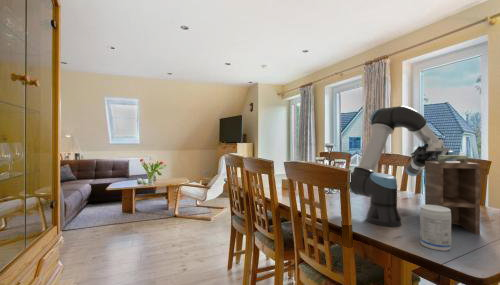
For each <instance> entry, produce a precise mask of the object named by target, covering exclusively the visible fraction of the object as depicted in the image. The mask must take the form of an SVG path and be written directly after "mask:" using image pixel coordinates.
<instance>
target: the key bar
mask: <svg viewBox="0 0 500 285" xmlns="http://www.w3.org/2000/svg"><path fill="white" fill-rule="evenodd" d="M426 144H427V143H426ZM427 151H451V147H445V148H442V143H433V144H432V146H431V147H430V148H429V149H428V150H427Z"/></svg>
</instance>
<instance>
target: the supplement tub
mask: <svg viewBox="0 0 500 285" xmlns="http://www.w3.org/2000/svg"><path fill="white" fill-rule="evenodd" d="M419 208H420V209H419V243H421V245H422V246H423V247H425V248H428V249H430V250H435V251H439V252H441V251H442V252H443V251H444V252H446V251H450V250H451V249H452V224H451V210H450V209H449V208H446V207H443V206H438V205H425V204H421V205H420V207H419Z"/></svg>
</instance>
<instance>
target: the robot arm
mask: <svg viewBox="0 0 500 285" xmlns="http://www.w3.org/2000/svg"><path fill="white" fill-rule="evenodd" d="M369 120H370V126H371V127H370V128H371V129H372V131H371V134H370V137H369V139H368V141H367V144H366V146H365V150H364V152H363V154H362V157H361V159H360V162H359V164H358V165H357V166H355V167H354V168H353V170H352V171H351V182H350V191H349V192H350V194H351V193H352V194H354V195H357V196H361V197H366V198H370V199H369V200H370V204H369V208H368V211H367V212H366V221H367V222H369V223H371V224H373V225H378V226H381V227H382V226H384V227H398V226H401V225H402V217H401V215H400V211H399V210H398V181H397V180H398V179H397V178H396V177H395V176H394V175H391V174H387V173H382V172H376V169H377V166H378V165H379V161H380V159H381V157H382V153H383V151H384V148H385V146H386V144H387V141H388V137H389V136H390V135H391V134H393V133H394V131H395V129H396V128H405V129H407V131H408V132H411V133H413V134H414V136H416V138H417V139H418V140H419V141H420V143H422V145H419V146H417V148H416V149H415V150H414V151H413V152H412V153H410V156H411V160H410V161H409V163H408V164H407V166H405V167H406V168H405V172H406V174H407V175H409V176H411V177H416V176H418V175H419V174H420V173H421V172H422V171H423V170H424V169H425V161H438V155H458V153H457V152H456V151H454V150H450V151H427V150H428V149H429V148H430V147H431V146H432V144H433V143H442V148H446V146H445V145H444V144H445V143H444V141H443V138H441V139H439V137H438V136H437V135H436V134H435V132H434V131H433V130H432V128H430V126H429V125H428V124H427V119H426V117H424V115H422V113H420V112H419V111H417V110H415V109H414V108H412V107H409V106H405V105H398V106H391V107H382V108H378V109H375V110H374V111H372V113H371V115H370V118H369ZM426 143H427V144H426ZM457 160H458V159H445V161H457Z"/></svg>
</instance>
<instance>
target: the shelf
mask: <svg viewBox="0 0 500 285" xmlns="http://www.w3.org/2000/svg"><path fill="white" fill-rule="evenodd" d="M445 159H457V160H458V161H445ZM480 168H481V163H477V162H469V156H468V155H465V154H463V155H462V154H459V155H458V154H457V155H438V161H425V167H424V179H425V180H424V205H438V206H443V207H446V208H449V209H450V210H451V225H459V226H461V227H463V228H465V229H466V230H468V231H470V232H472V233H474V234H475V235H481V214H480V213H481V190H480V189H481V186H480V185H481V170H480Z"/></svg>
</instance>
